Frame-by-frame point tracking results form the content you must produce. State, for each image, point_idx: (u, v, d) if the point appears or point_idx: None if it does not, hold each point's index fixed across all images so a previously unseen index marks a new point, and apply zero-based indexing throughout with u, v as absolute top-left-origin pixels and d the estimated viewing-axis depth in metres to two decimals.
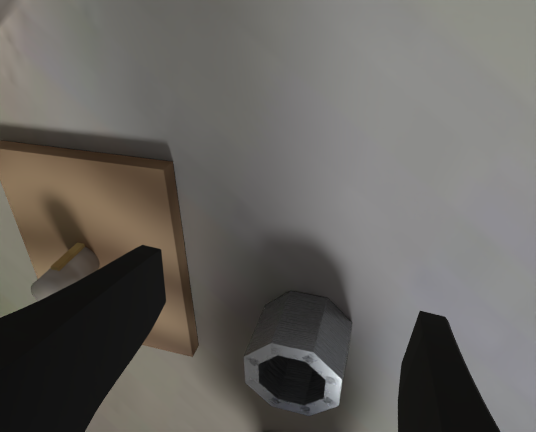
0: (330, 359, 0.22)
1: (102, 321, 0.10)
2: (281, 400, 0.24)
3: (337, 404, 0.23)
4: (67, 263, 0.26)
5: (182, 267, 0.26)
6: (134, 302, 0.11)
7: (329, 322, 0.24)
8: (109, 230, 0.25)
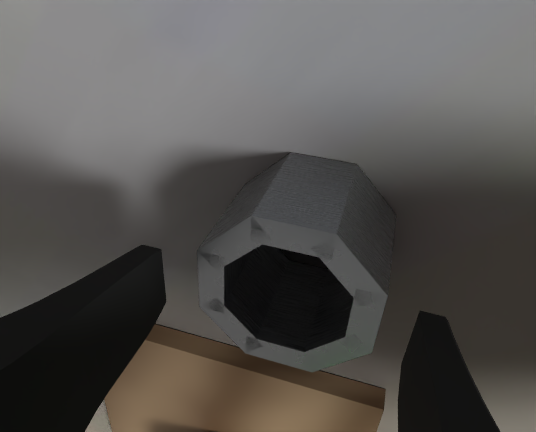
0: (231, 223, 0.12)
1: (102, 321, 0.10)
2: (351, 331, 0.12)
3: (331, 235, 0.11)
4: None
5: (218, 353, 0.20)
6: (134, 302, 0.11)
7: (241, 196, 0.14)
8: (176, 402, 0.22)
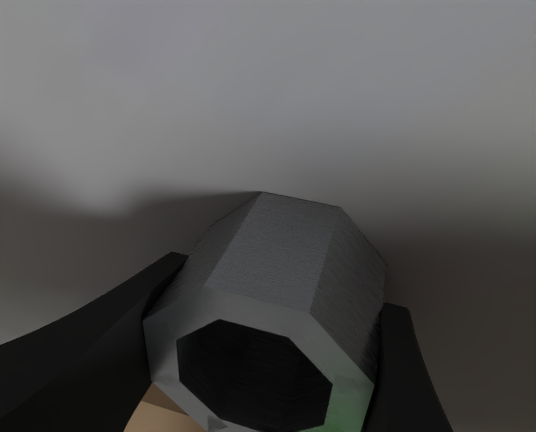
0: (183, 288, 0.10)
1: (137, 331, 0.10)
2: (331, 419, 0.10)
3: (303, 314, 0.08)
4: None
5: None
6: None
7: (203, 246, 0.12)
8: None
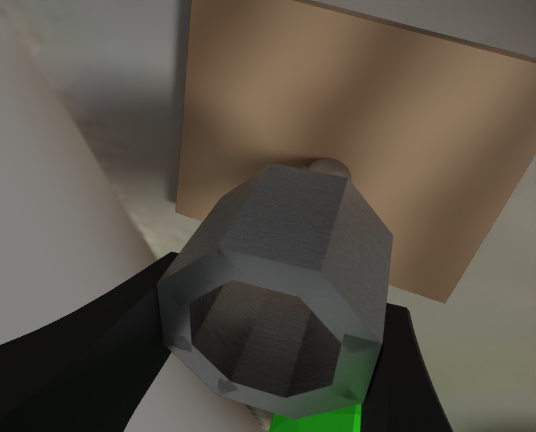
0: (196, 251, 0.10)
1: (136, 331, 0.10)
2: (338, 379, 0.10)
3: (314, 273, 0.09)
4: None
5: (367, 17, 0.16)
6: None
7: (214, 215, 0.12)
8: (283, 112, 0.18)
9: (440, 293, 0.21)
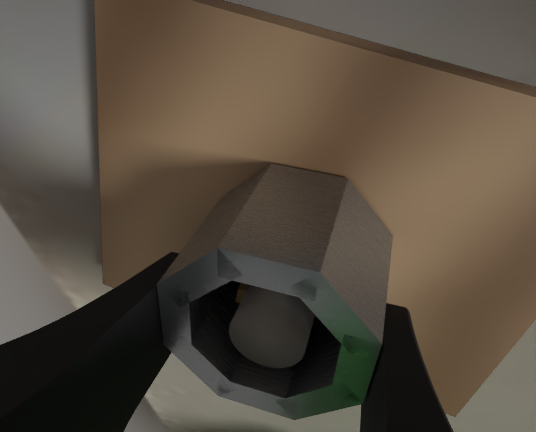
0: (196, 252, 0.10)
1: (137, 331, 0.10)
2: (338, 379, 0.10)
3: (314, 274, 0.09)
4: None
5: (349, 41, 0.10)
6: None
7: (214, 215, 0.12)
8: (233, 169, 0.13)
9: (449, 405, 0.15)
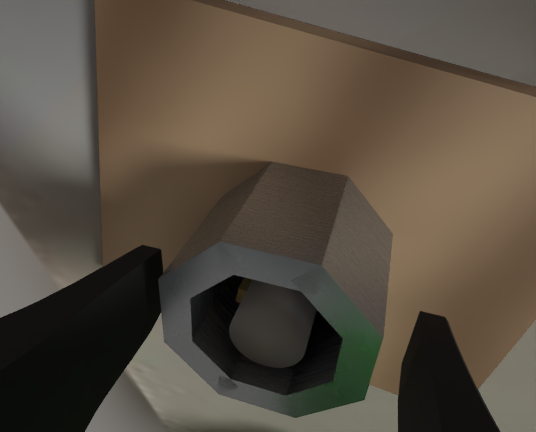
0: (198, 247, 0.10)
1: (102, 321, 0.10)
2: (339, 375, 0.10)
3: (315, 267, 0.09)
4: None
5: (350, 40, 0.10)
6: (134, 302, 0.11)
7: (215, 213, 0.12)
8: (233, 169, 0.13)
9: None
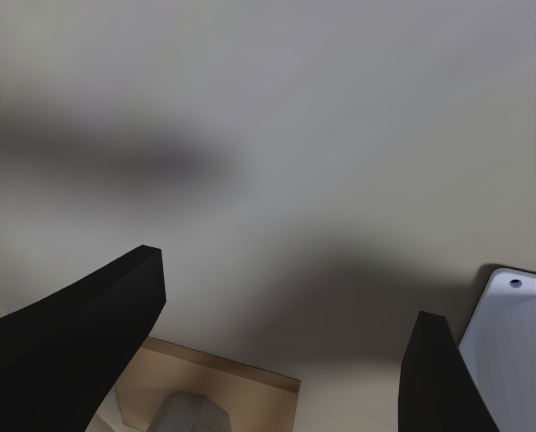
0: None
1: (102, 321, 0.10)
2: None
3: None
4: None
5: (194, 357, 0.30)
6: (134, 302, 0.11)
7: (158, 413, 0.32)
8: (166, 390, 0.32)
9: None
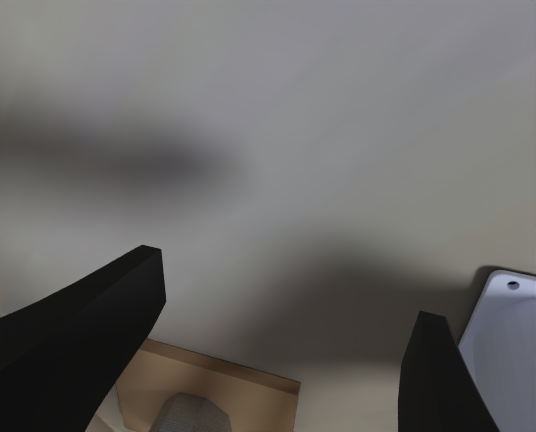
0: None
1: (102, 321, 0.10)
2: None
3: None
4: None
5: (194, 359, 0.30)
6: (134, 302, 0.11)
7: (159, 415, 0.32)
8: (167, 393, 0.33)
9: None
